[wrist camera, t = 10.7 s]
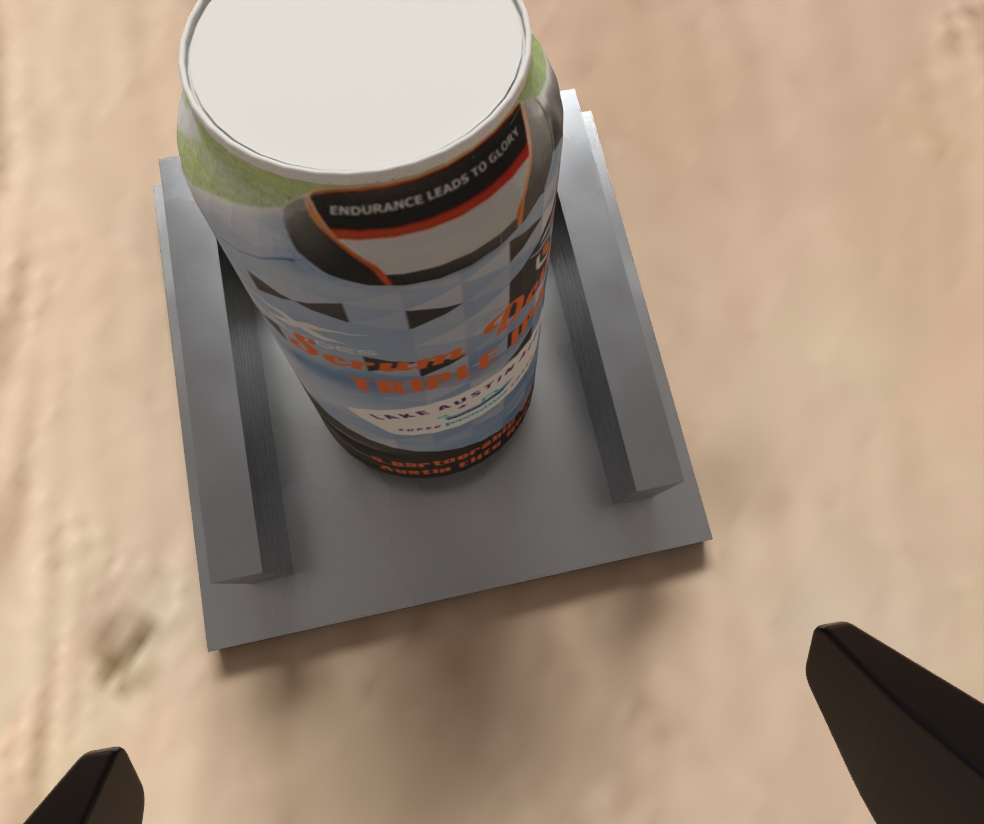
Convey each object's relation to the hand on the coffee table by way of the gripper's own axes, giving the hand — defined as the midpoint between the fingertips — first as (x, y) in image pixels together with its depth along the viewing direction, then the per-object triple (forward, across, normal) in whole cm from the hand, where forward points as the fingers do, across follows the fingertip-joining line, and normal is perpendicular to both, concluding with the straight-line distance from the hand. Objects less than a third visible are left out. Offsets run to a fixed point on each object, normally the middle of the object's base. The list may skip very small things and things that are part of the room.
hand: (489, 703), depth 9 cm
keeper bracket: (+14, 0, +1) cm, 14 cm away
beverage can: (+13, 0, +1) cm, 13 cm away
